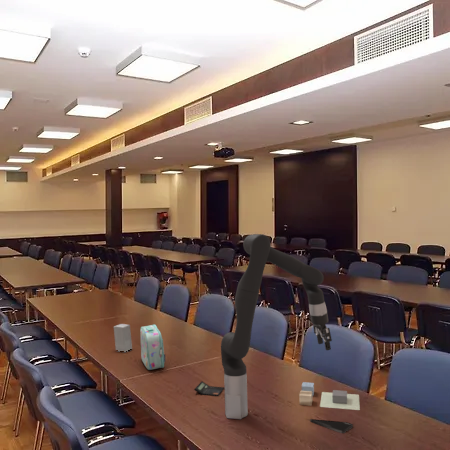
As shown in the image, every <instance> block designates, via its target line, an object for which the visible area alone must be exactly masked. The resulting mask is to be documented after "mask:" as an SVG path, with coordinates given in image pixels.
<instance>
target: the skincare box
mask: <svg viewBox="0 0 450 450" xmlns="http://www.w3.org/2000/svg"><path fill="white" fill-rule="evenodd" d="M113 334H114V344H115V346H114V347H115V351H116V350H118V351H117V352H120V351H124V352H123V353H127V352H129V351H128V350H130V349H132V350H133V344H132V343H133V342H132V334H131V325H130V324H125V323H119V324H117V325H114V326H113ZM126 351H127V352H126ZM130 351H131V350H130Z"/></svg>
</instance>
